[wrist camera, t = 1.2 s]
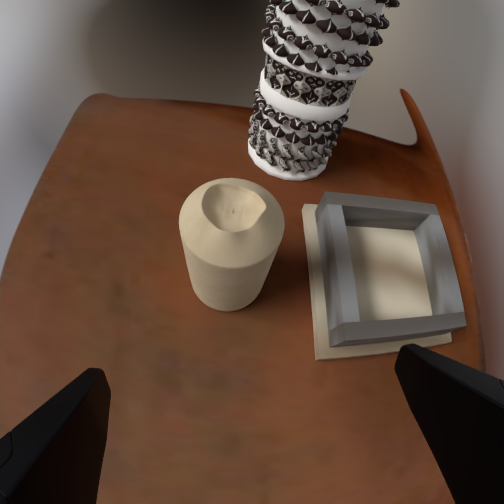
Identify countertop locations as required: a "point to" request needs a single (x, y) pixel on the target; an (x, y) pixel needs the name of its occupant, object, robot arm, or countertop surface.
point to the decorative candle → (309, 80)
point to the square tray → (379, 276)
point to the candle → (230, 240)
